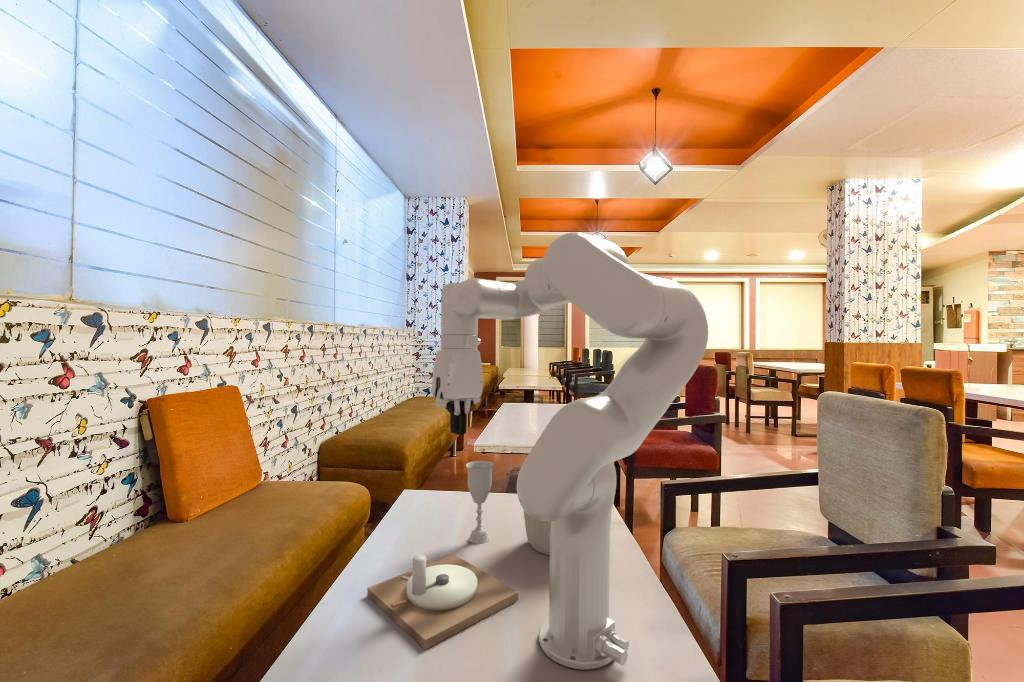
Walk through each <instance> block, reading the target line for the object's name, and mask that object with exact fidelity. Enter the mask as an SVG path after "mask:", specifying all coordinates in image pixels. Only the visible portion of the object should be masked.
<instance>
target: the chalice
mask: <svg viewBox="0 0 1024 682" xmlns="http://www.w3.org/2000/svg"><path fill="white" fill-rule="evenodd" d="M465 466H466V469H467V488H468V491H469V493H470V496H471V498H472V500H473V503H475V504H476V505H477V507H476V508H477V509H476V511H475V512H476V513H477V516H476V518H475V520H476V523H477V524H476V527H474V528H473V529H472V530H471V532H470V535H469V537H468V541H469V542H470V543H472V544H477V545H479V544H486V543H487V542H489V541H490V537H489V533H488V531H487V529H486V528H484V527H483V526H482V521H483V520H484V519H483V517H482V514H483V509H482V504H483V503H486V500H487V498H488V495H489V494H490V491H491V488H492V485H493V477H492V476H493V467H494V466H495V463H493V462H492V461H487V460H474V461H469V462H467V463H466V464H465ZM485 542H486V543H485Z"/></svg>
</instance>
